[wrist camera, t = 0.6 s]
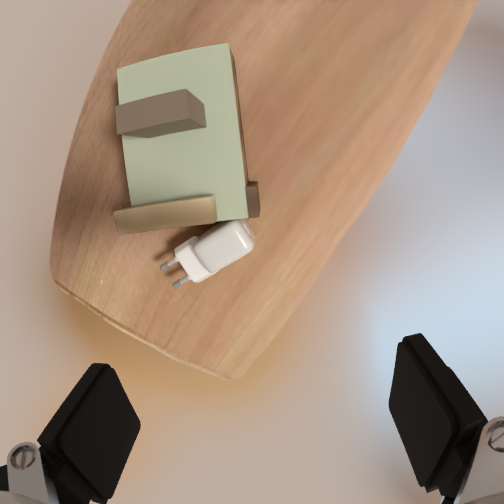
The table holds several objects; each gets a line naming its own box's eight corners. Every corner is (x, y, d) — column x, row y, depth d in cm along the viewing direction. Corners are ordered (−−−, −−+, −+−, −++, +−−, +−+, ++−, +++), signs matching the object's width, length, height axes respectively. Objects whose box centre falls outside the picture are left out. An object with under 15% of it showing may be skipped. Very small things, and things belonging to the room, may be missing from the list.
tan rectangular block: (122, 208, 29) (113, 211, 27) (214, 194, 29) (210, 197, 27) (126, 230, 30) (118, 235, 28) (217, 218, 29) (214, 223, 27)
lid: (121, 71, 26) (83, 52, 18) (229, 46, 25) (218, 13, 18) (139, 229, 31) (104, 250, 24) (249, 216, 30) (244, 235, 23)
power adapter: (185, 283, 38) (173, 303, 33) (164, 252, 37) (147, 268, 32) (259, 239, 36) (258, 254, 31) (238, 205, 35) (232, 214, 30)
